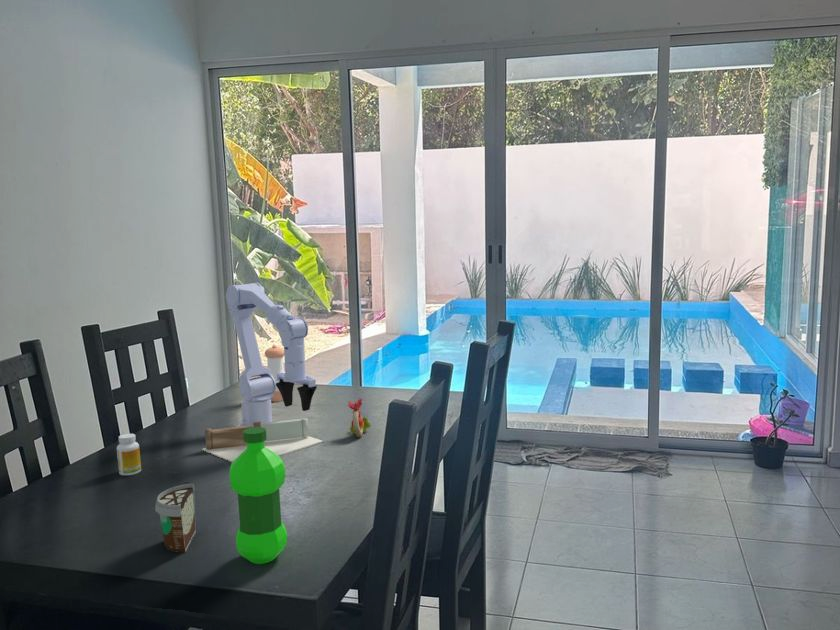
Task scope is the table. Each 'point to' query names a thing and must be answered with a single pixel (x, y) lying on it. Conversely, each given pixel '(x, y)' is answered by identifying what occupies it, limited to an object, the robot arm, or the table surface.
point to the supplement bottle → (128, 455)
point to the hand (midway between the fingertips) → (297, 407)
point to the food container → (177, 516)
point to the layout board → (275, 446)
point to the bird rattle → (358, 419)
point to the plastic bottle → (258, 499)
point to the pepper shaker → (275, 367)
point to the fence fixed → (226, 436)
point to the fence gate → (286, 429)
